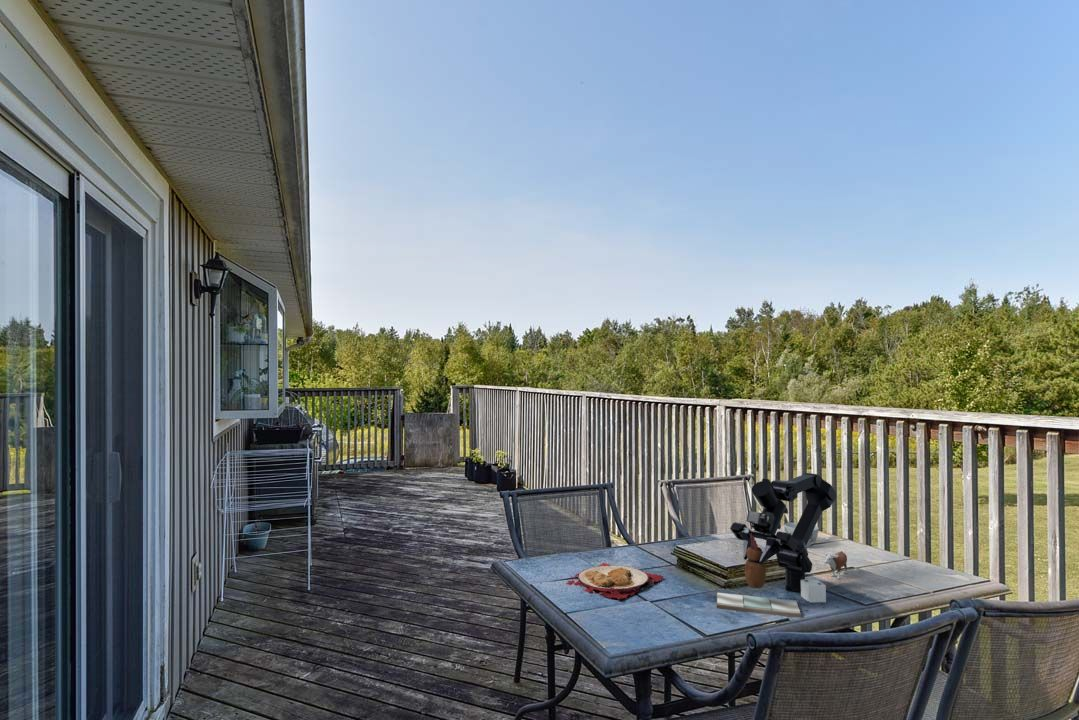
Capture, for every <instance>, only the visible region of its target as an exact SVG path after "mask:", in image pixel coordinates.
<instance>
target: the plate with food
mask: <svg viewBox="0 0 1079 720" xmlns="http://www.w3.org/2000/svg"><path fill="white" fill-rule="evenodd" d="M573 577H574V578H573ZM664 577H665V576H664V575H661V574H659V575H658V573H650V572H647V571H646V572H645V571H644V570H641V569H638V568H634V567H631V566H626V565H624V566H623V565H610V564H609V563H606V562H602V563H601V564H599V565H598V566H593V567H591V568H584V569H582V571H580V572H579V573H575V575H574V576H572V577H570V579H571V580H567V582H566V583H565V584H566V585H568V586H572V585H574V586H579V587H581V588H579V590H582V591H583V592H587V593H588V594H596V593H599V595H602V597H605V598H609V599H612V598H613V599H617V600H623V599H627V597H628V596H630V597H633V596H634V595H635V593H638V592H639V591H643V590H644V587H641V586H642V585H645V584H646V588H648V587H651V586H654V585H655V584H654V583H657V582H659V581H662V580H663V578H664ZM576 578H577V579H578V580H577V581H576ZM575 581H576V582H575ZM584 588H585V589H584ZM607 592H609V593H607Z"/></svg>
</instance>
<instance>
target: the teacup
mask: <svg viewBox="0 0 1079 720" xmlns="http://www.w3.org/2000/svg"><path fill="white" fill-rule="evenodd" d="M797 524H798V522H785V523H784V532H785V533H789V534H791V535H792V534H793V532H794V530H795V528H796V526H797ZM819 529H820V528H819V526H817V525H816V526H815V528H814V530H813V532H812V534H811V536H810V538H809V541H808V543H807V545H806V547H807V548H810V547H811V546H812V545H813V544H814V542H815V541H816V540H817V538H818V534H819Z"/></svg>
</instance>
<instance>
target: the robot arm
mask: <svg viewBox="0 0 1079 720" xmlns="http://www.w3.org/2000/svg"><path fill="white" fill-rule="evenodd" d="M802 492H804V493H805V497H806V501H807V502H806V503H807V504H806V506H805V508H804V509H803V511H802V512H801V513H802V514H801V515H800V518H799V520H798V521H797V523H798V524H797V526H796V528H795V530H794V532H793V534H792V535H791V534H789V533H786V532H785V531H778V530H781V528H782V525H781V521H782V519H783V516H784V514H787V515H788V514H789V510H788V508H787V505H786V503H784V502H788V503H789V502H791V503H792V502H793V501H795V500H796V499H797V498H798V494H799V493H802ZM751 493H752V495H753V496H754V498H755V499H756V501H757V502H758V503H759V506H761V507H763V508H762V510H761V512H757V511H752V510H748V512H747V517H746V520H745V521H746V522H747V523H750V524H751V525H750V526H751V528H752V529H750V528H749V527H748V526H747V525H746V523H741V522H736V521H735V522H733V523H732V524H731V526H730V528H729V529H730V531H731V532H732V533H733V535H734V536H735V537H736V539H738V540H740V541H743V556H742V558H743V559H744V560H745V561H747V560H748V558H747V556H746V551H747V549H748V547H751V533H752V535H753V536H754V538H756V539H760V540H765V541H766V542H765V546H764V548H763V550H762V551H763V553H762V555H761V557H760V561H759V563H760V564H763V563H764V564H765V562H766V561H768V560H769V559H770V558H772V557H774V556H775V555H776V560H777V565H778V567H779V568H784V569H785V581H784V582H782V583H783V587H784V590H785V591H788V592H799V593H801V580H806V574H807V573H811V571H812V568H813V562H812V561H811V559H810V558H809V552H808V547H806V545H807V543H808V541H809V538H810V536H811V534H812V532H813V530H814V528H815V526H817V523H818V521H819V520H820V517H821V515H822V513H823V512H825V510H828V509H829V508H831V506H832V505H833V503H835V501H836V498H837V491H836V489H834V487H833V486H832V484H831V483H829V482H828V481H826V480H824V479H823V478H822V476H821V474H820V475H819V474H818V473H810V472H805V473H804V472H803V474H801V475H798V476H796V477H794V478H791V479H788V480H776V479H775V480H770V479H769V478H762V479H761V481H758V482H756V483H755V484H754V485H752V486H751Z"/></svg>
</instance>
